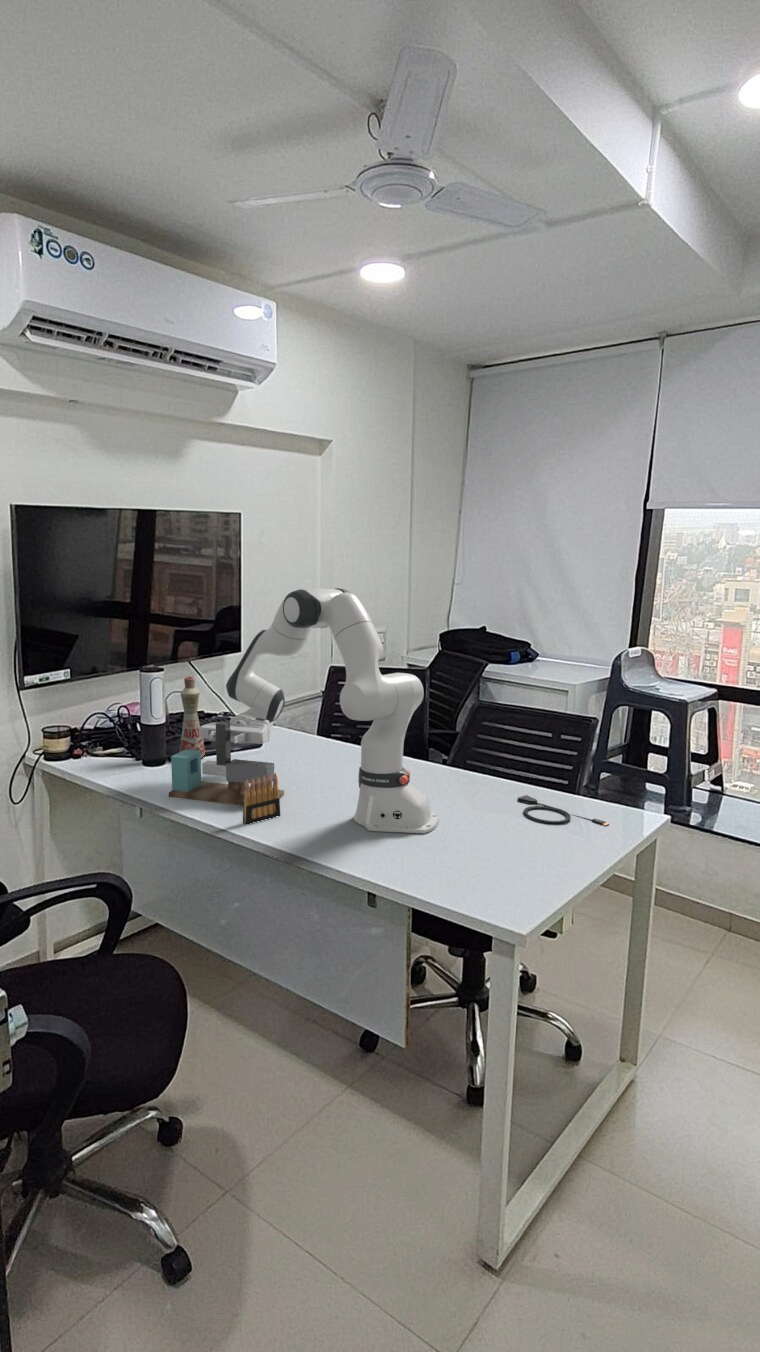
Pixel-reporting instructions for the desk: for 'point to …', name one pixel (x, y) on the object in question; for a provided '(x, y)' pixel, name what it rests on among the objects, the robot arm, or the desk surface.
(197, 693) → the bottle
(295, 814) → the desk surface
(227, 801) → the base board
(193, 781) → the socket block
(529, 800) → the cable
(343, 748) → the desk surface
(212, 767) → the dark grey upright post
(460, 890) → the desk surface
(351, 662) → the robot arm
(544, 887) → the desk surface
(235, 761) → the outer sleeve
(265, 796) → the ammunition clip
